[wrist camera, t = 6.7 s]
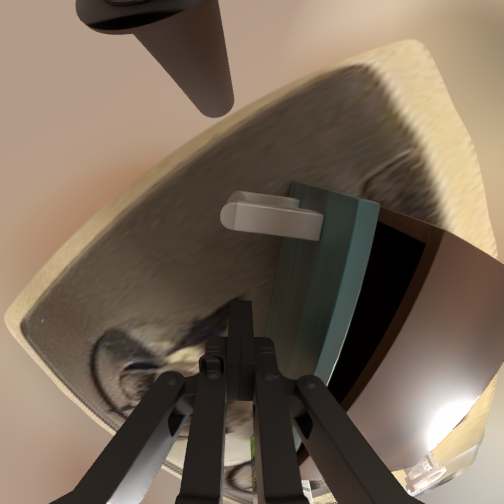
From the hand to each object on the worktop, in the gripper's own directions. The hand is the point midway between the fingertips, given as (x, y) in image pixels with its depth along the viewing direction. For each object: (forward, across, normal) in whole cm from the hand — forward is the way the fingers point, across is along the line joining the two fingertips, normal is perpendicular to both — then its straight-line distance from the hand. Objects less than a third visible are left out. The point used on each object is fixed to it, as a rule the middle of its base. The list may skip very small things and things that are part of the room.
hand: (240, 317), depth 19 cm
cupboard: (+9, +13, -3) cm, 16 cm away
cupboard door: (+9, +1, -1) cm, 9 cm away
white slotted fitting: (+9, +30, -30) cm, 44 cm away
